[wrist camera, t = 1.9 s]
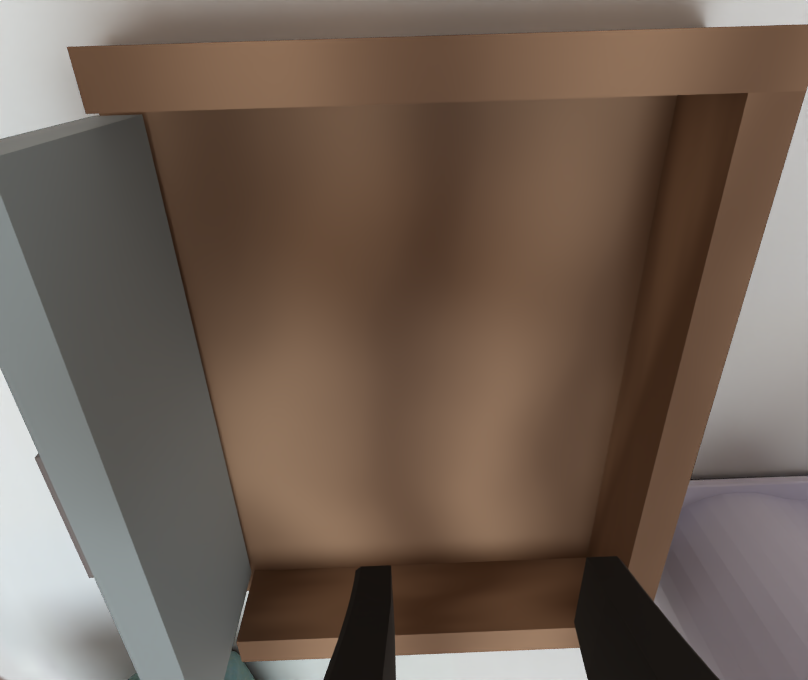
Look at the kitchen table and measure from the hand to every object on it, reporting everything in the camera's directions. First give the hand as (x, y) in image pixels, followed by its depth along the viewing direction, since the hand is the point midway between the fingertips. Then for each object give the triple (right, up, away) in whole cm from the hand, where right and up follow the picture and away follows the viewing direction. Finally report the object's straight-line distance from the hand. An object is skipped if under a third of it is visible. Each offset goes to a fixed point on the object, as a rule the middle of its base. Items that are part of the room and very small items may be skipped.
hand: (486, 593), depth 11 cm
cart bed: (-1, +4, +8) cm, 9 cm away
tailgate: (-9, +3, +7) cm, 12 cm away
